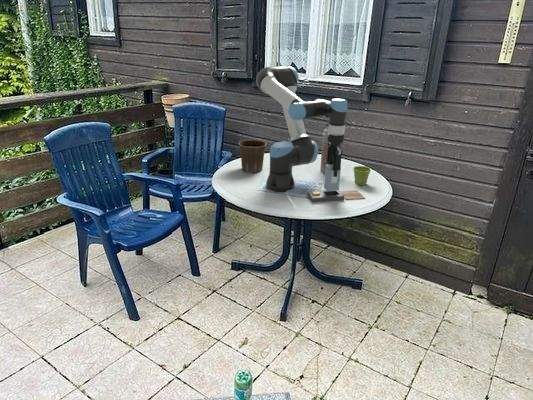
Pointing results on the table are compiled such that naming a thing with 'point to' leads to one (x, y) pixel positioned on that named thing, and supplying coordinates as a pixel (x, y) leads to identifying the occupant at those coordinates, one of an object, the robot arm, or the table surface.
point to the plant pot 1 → (252, 155)
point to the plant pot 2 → (361, 174)
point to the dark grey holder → (325, 195)
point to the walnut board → (352, 195)
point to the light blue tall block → (328, 174)
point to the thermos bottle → (324, 149)
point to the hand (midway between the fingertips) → (332, 180)
